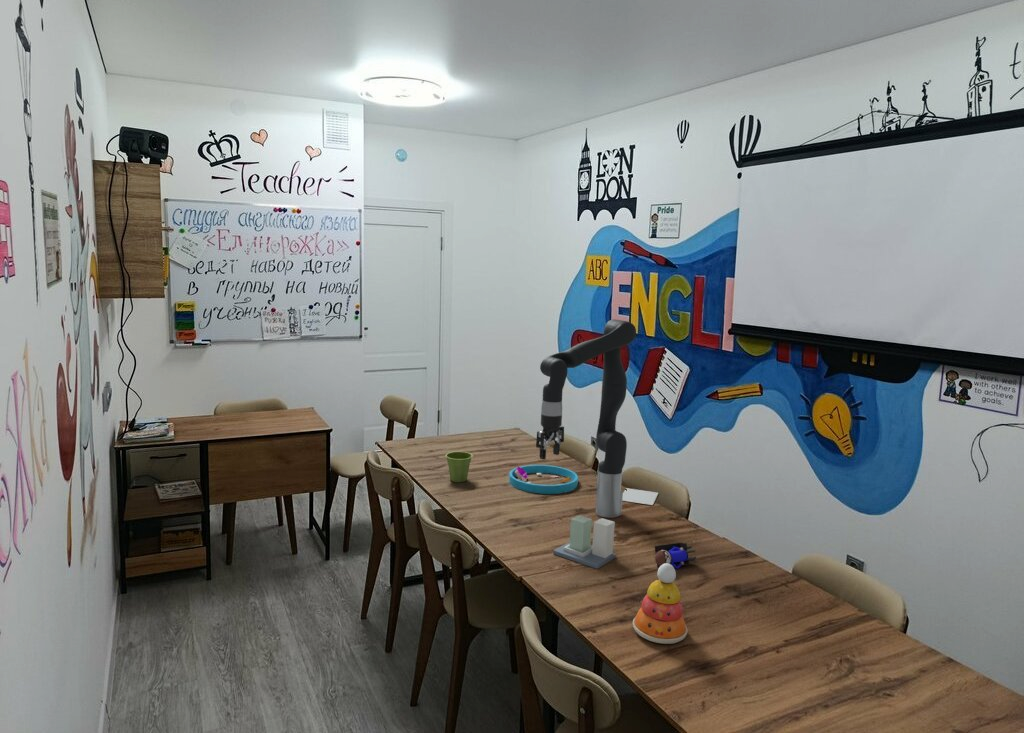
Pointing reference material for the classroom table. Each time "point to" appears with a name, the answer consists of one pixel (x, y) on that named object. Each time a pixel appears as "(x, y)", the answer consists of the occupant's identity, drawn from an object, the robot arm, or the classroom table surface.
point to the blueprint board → (583, 556)
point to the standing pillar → (603, 538)
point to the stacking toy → (661, 610)
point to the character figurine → (673, 554)
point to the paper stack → (639, 496)
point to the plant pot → (458, 465)
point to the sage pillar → (580, 533)
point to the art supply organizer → (538, 469)
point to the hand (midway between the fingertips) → (549, 456)
